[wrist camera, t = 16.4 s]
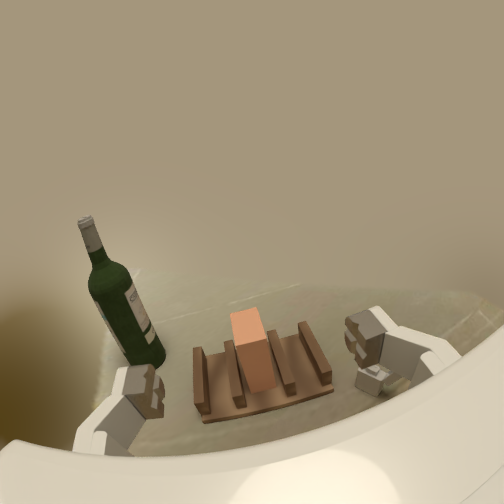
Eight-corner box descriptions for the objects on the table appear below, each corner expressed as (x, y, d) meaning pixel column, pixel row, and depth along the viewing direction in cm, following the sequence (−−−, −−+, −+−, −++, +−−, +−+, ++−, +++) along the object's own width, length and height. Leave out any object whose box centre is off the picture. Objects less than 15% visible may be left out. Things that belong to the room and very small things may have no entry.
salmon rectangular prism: (267, 356, 44) (256, 307, 39) (276, 387, 38) (266, 338, 33) (244, 362, 44) (229, 313, 39) (251, 393, 37) (235, 345, 33)
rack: (305, 335, 48) (304, 317, 46) (333, 391, 36) (334, 374, 34) (200, 360, 47) (192, 344, 45) (203, 423, 34) (194, 409, 32)
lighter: (354, 386, 36) (359, 353, 32) (360, 379, 36) (366, 345, 33) (392, 405, 30) (404, 373, 27) (398, 396, 31) (410, 363, 28)
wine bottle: (173, 358, 48) (111, 209, 35) (141, 379, 44) (64, 231, 31) (155, 340, 54) (100, 207, 41) (126, 358, 49) (61, 225, 36)
